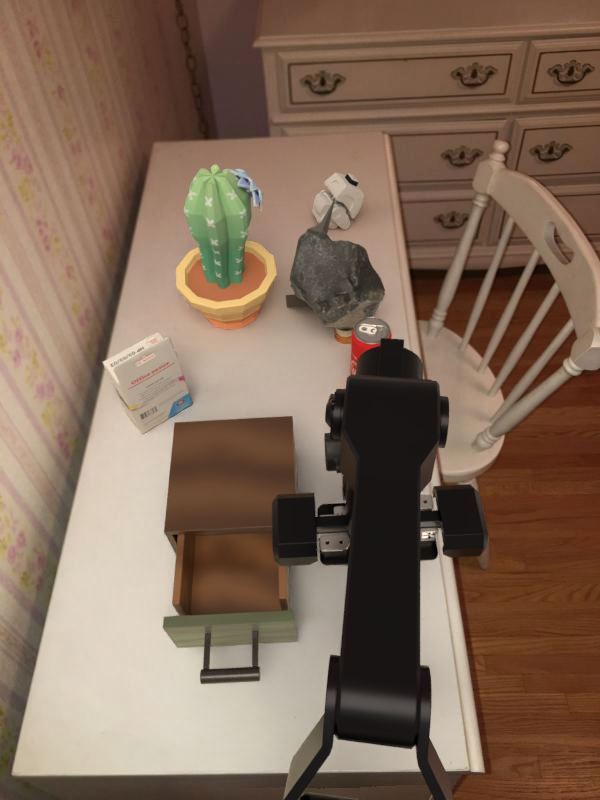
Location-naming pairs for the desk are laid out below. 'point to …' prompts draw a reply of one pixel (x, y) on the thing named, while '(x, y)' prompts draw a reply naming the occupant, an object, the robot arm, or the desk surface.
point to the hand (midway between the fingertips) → (372, 559)
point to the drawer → (229, 598)
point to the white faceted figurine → (339, 200)
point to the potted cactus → (224, 250)
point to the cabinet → (228, 474)
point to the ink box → (149, 381)
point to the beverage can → (367, 337)
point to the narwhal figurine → (334, 280)
